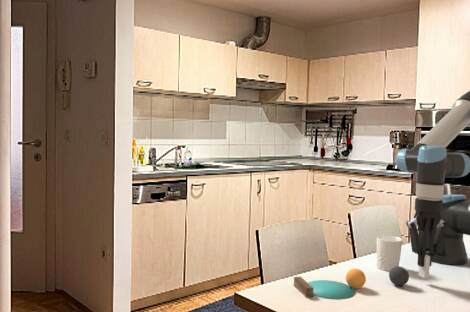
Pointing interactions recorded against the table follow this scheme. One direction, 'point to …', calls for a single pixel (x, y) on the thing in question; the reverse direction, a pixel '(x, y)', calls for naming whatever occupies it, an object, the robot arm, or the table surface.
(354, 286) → the object ball
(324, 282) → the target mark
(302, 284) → the wall
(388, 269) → the white cup
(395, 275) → the dark grey sphere
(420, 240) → the robot arm
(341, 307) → the table surface
